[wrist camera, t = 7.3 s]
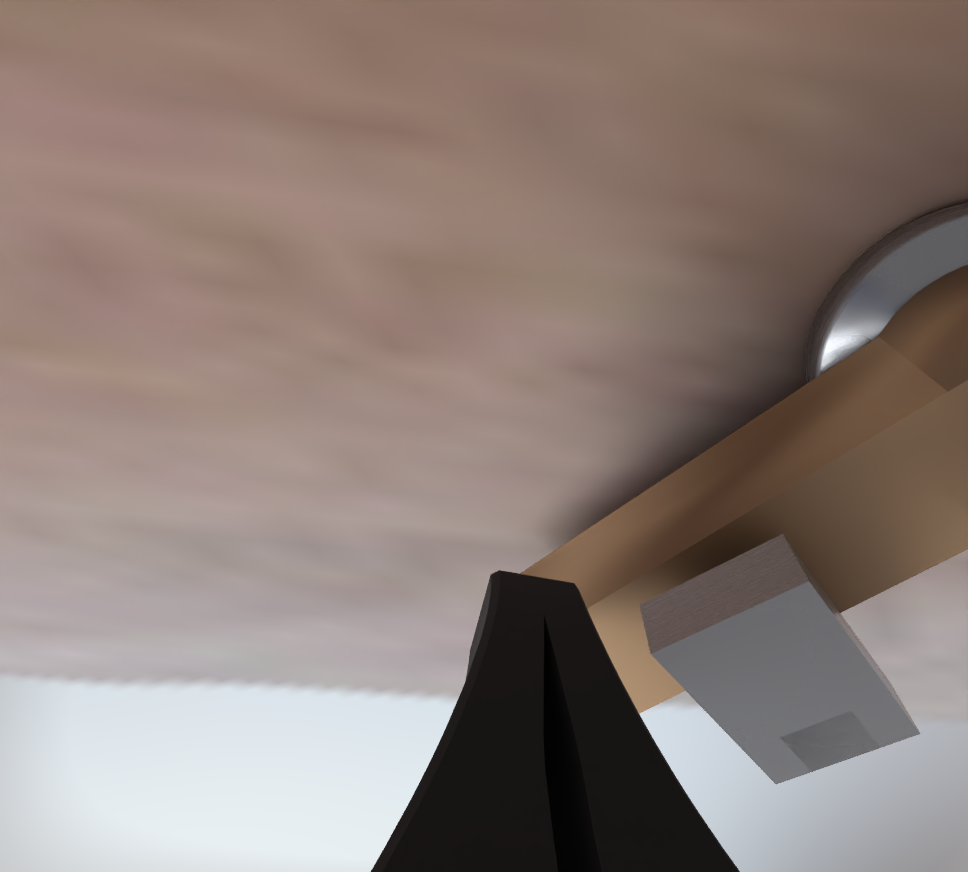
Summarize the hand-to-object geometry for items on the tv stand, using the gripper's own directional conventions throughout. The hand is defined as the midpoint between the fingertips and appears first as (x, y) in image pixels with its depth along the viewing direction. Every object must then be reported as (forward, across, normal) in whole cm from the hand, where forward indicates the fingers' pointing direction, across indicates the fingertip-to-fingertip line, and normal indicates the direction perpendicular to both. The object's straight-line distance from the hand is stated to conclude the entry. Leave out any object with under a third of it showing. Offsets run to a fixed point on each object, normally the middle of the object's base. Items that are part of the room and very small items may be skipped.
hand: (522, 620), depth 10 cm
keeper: (+4, -4, 0) cm, 6 cm away
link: (+3, -5, -2) cm, 6 cm away
